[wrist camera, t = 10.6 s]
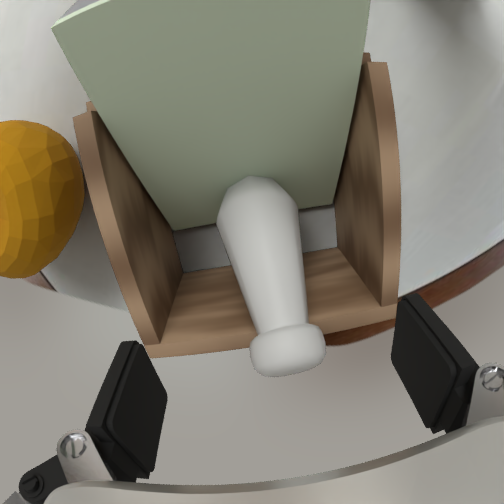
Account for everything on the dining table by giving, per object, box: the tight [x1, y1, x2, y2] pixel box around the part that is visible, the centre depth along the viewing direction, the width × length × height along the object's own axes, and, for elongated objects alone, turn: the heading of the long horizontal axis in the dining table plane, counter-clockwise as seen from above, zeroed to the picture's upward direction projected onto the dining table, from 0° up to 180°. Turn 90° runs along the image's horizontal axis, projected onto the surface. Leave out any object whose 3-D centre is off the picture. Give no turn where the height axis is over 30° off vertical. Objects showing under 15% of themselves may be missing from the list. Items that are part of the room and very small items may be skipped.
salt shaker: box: [216, 176, 326, 377], centre depth 19 cm, size 6×6×13 cm
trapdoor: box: [51, 0, 370, 231], centre depth 18 cm, size 20×14×6 cm
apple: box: [0, 120, 85, 278], centre depth 19 cm, size 13×13×11 cm
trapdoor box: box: [73, 53, 401, 358], centre depth 21 cm, size 17×17×10 cm
